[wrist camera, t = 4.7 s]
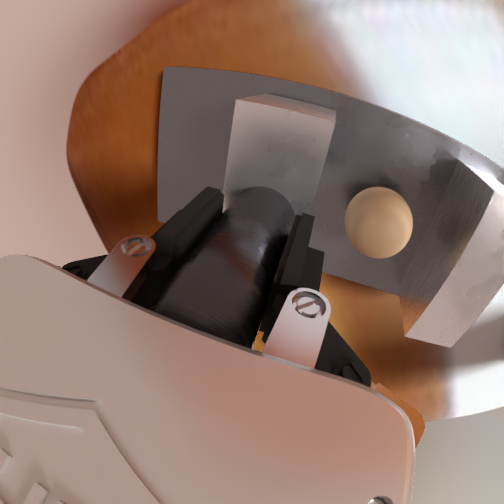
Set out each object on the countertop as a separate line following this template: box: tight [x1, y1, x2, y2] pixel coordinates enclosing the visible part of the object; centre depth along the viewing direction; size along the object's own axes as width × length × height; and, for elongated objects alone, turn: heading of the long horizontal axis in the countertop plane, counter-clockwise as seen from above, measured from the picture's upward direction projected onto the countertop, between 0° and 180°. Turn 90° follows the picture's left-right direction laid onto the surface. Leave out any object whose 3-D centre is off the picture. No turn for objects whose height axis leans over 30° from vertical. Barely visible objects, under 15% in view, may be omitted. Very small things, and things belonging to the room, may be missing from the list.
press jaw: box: [148, 93, 336, 349], centre depth 12 cm, size 4×10×13 cm, turn 170°
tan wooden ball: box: [344, 187, 413, 258], centre depth 15 cm, size 4×4×4 cm
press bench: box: [157, 66, 504, 348], centre depth 15 cm, size 24×12×6 cm, turn 80°
